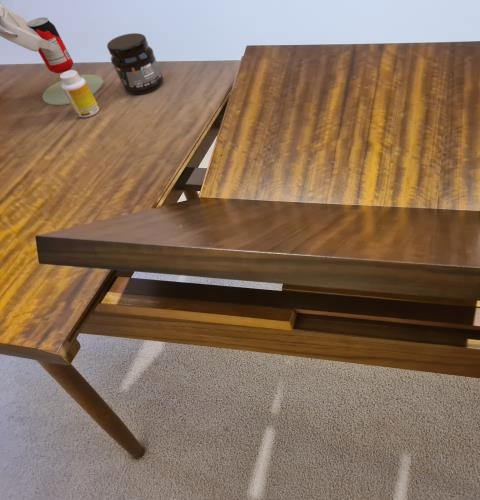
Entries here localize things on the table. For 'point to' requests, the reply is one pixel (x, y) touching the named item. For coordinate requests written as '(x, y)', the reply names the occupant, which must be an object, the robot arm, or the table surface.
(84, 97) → the supplement bottle
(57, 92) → the mat
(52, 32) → the beverage can
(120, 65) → the supplement container
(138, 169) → the table surface
